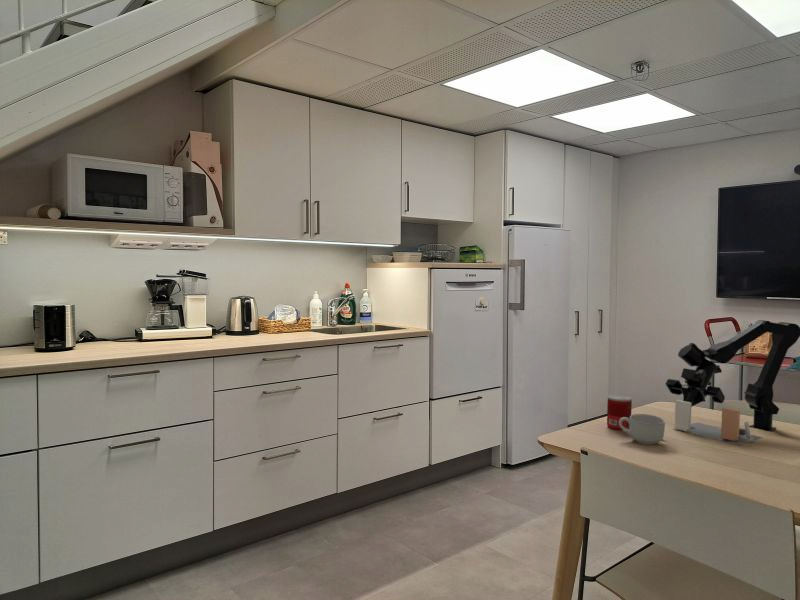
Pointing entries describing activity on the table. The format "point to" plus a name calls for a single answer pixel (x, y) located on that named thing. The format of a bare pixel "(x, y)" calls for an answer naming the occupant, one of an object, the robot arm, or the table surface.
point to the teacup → (645, 428)
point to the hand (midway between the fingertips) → (684, 409)
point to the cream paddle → (683, 415)
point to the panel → (716, 433)
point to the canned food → (618, 411)
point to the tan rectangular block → (730, 424)
